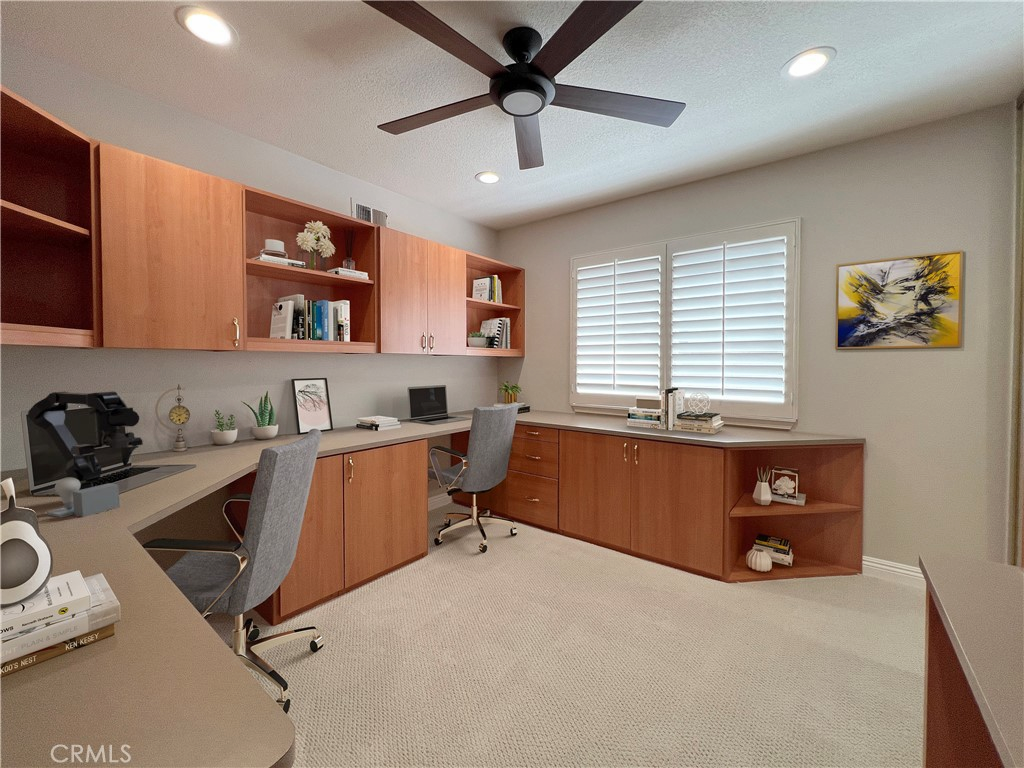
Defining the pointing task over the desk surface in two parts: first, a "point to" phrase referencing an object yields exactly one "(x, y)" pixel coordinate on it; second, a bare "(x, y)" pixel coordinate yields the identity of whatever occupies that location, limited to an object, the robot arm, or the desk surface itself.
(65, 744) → the desk surface
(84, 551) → the desk surface
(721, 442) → the desk surface
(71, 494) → the lightbulb
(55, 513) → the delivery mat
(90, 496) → the blue-grey rectangular block
